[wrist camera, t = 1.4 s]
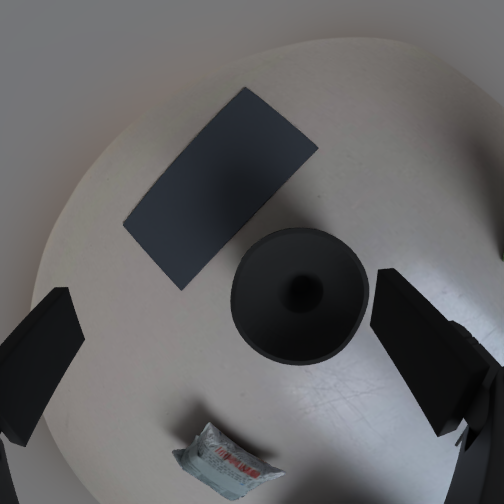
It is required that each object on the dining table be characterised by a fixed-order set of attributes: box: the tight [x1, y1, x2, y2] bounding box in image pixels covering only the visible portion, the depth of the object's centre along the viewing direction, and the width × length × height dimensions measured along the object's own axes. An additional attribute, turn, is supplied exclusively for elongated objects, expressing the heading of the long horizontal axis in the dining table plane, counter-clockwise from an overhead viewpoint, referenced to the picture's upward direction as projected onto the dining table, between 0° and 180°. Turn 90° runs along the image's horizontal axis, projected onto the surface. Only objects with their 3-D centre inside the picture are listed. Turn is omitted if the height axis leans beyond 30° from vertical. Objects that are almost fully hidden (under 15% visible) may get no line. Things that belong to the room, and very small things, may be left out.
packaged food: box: [172, 422, 286, 500], centre depth 31 cm, size 9×12×5 cm
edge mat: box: [123, 87, 318, 291], centre depth 30 cm, size 20×10×1 cm, turn 135°
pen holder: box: [230, 228, 369, 366], centre depth 25 cm, size 9×9×10 cm
